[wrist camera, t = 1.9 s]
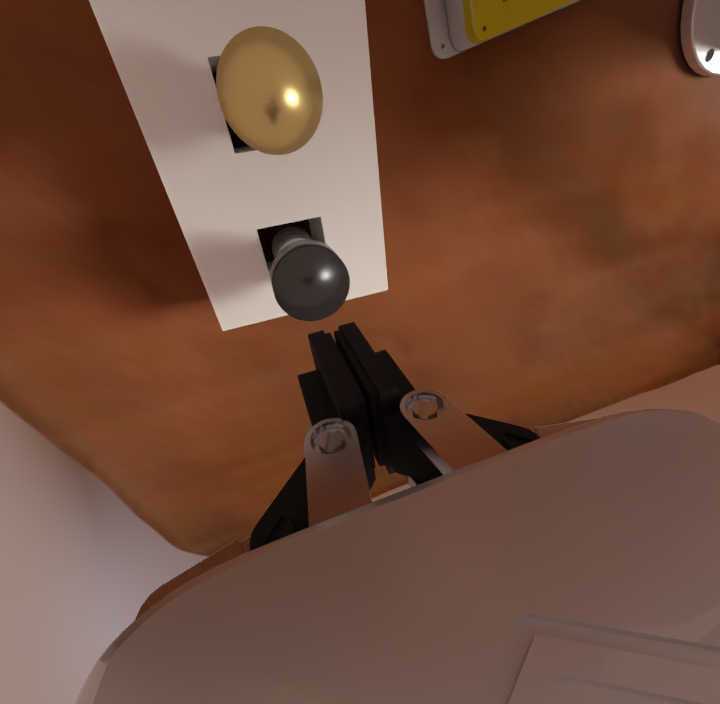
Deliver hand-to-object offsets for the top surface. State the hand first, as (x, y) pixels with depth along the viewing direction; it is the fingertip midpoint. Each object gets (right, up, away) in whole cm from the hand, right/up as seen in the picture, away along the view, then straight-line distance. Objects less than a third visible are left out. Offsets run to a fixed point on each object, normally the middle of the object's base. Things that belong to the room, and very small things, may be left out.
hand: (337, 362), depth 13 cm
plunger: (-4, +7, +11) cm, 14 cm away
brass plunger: (-5, +14, +7) cm, 16 cm away
